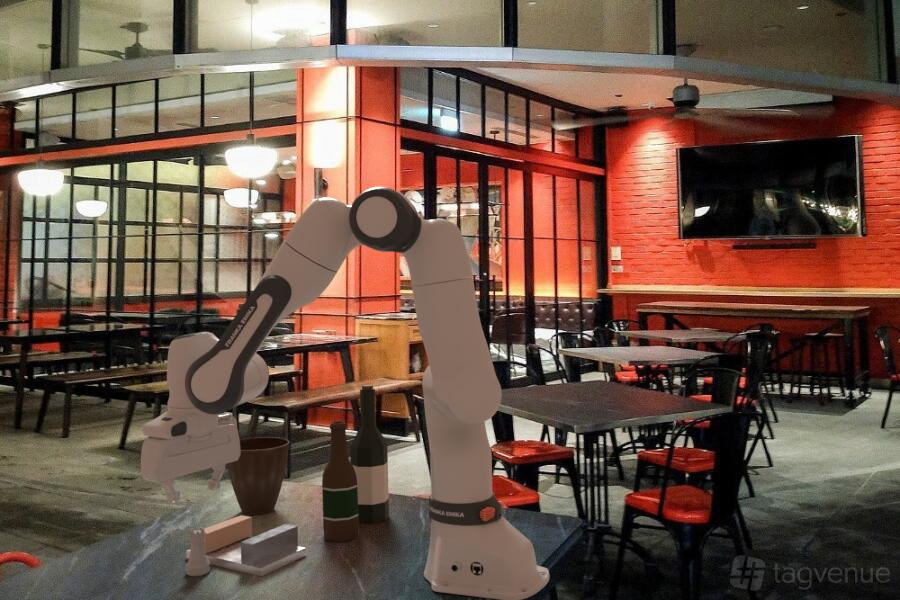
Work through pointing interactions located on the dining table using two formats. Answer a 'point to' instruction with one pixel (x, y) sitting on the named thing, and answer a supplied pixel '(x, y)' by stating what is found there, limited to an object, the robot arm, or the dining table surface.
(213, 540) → the block
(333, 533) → the beer bottle
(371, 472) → the wine bottle
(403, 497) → the dining table surface
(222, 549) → the vise base
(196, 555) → the rook chess piece
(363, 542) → the dining table surface
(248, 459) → the plant pot
